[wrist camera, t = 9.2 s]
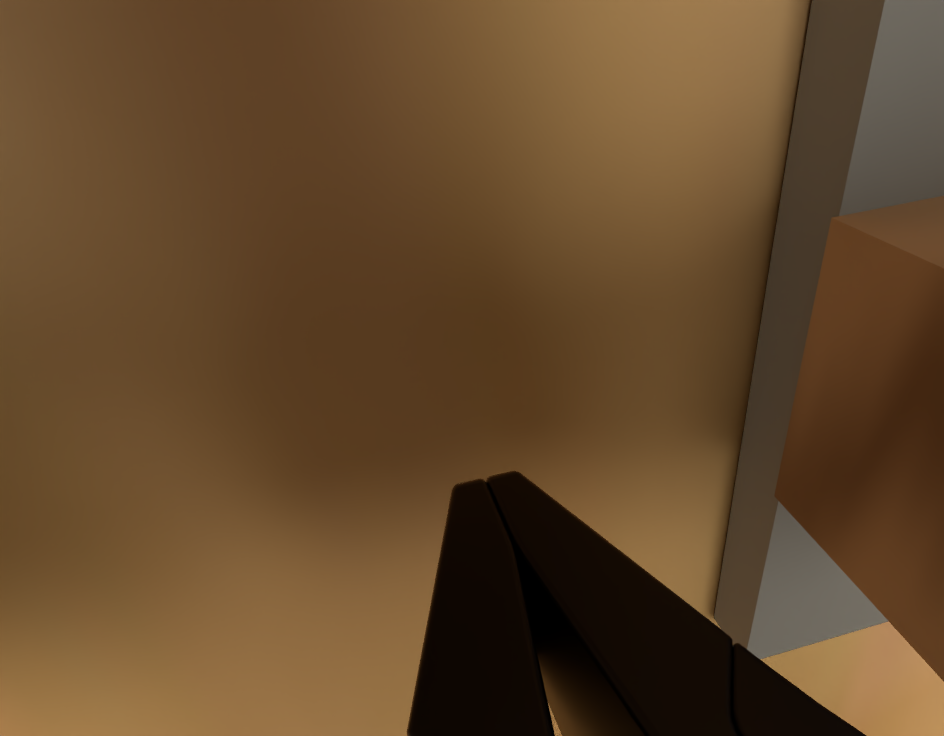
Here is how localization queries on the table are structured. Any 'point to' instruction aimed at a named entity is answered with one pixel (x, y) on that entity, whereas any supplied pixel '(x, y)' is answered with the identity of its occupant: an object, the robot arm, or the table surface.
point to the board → (795, 284)
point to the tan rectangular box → (877, 416)
